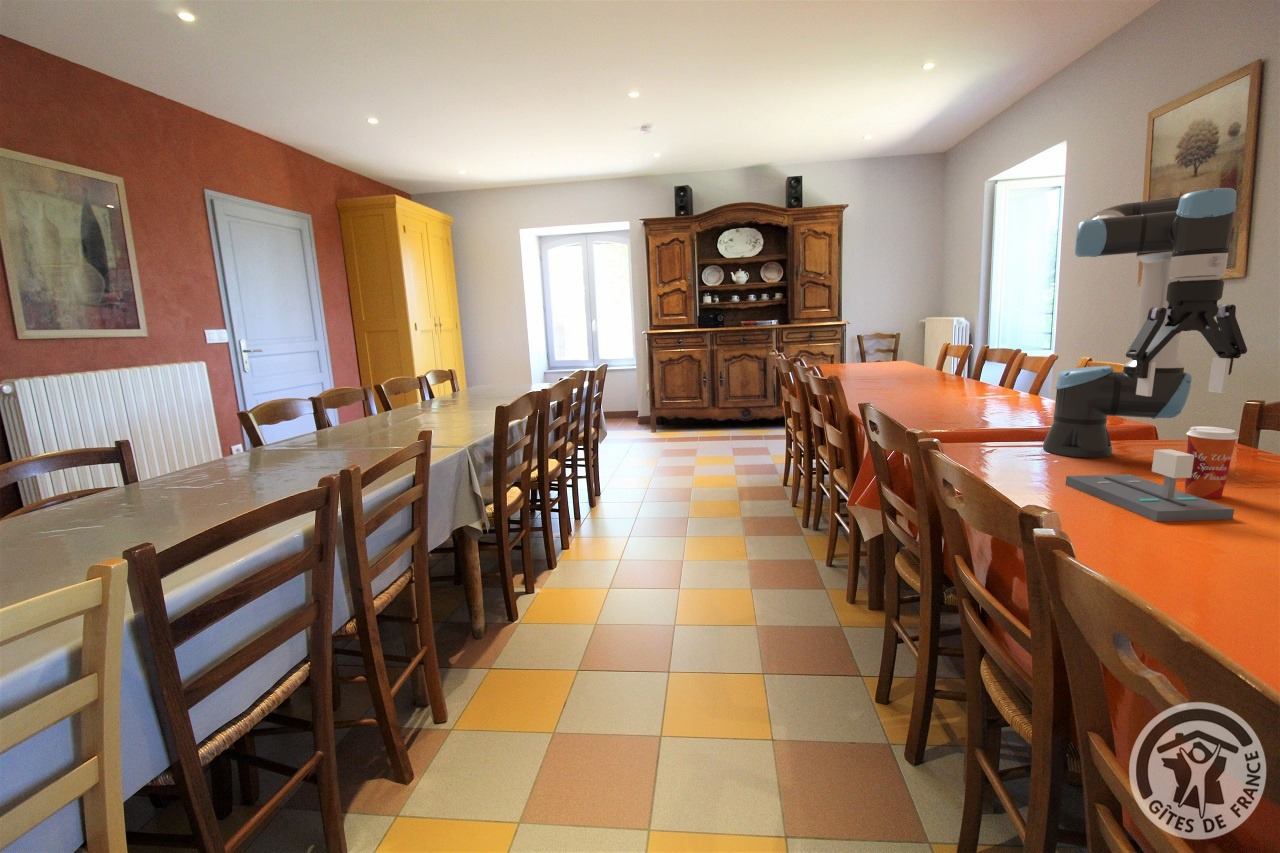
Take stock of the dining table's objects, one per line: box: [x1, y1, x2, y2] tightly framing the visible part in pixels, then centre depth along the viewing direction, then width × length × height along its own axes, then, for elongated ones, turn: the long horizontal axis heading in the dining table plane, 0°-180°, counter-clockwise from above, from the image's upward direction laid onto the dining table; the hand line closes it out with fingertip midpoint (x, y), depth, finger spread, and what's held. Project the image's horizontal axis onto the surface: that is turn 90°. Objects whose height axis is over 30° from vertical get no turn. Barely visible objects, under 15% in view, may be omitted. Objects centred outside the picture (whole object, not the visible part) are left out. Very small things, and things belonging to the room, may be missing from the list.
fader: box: [1151, 448, 1194, 499], centre depth 112 cm, size 5×3×9 cm, turn 179°
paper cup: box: [1184, 426, 1240, 499], centre depth 120 cm, size 8×8×14 cm
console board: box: [1065, 473, 1235, 522], centre depth 119 cm, size 24×14×2 cm, turn 179°
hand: (1179, 394), depth 110 cm, fingers open, 13 cm apart
